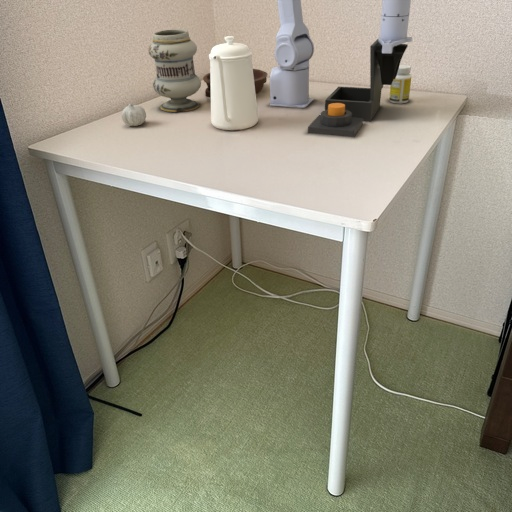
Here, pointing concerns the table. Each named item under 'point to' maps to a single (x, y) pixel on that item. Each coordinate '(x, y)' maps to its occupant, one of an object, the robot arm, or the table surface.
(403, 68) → the supplement bottle
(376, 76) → the lid
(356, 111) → the dark grey lipped box
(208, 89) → the dish
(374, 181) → the table surface
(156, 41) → the apothecary jar
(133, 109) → the garlic
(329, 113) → the button
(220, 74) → the coffeepot
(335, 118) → the orange push button box
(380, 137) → the table surface
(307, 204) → the table surface
